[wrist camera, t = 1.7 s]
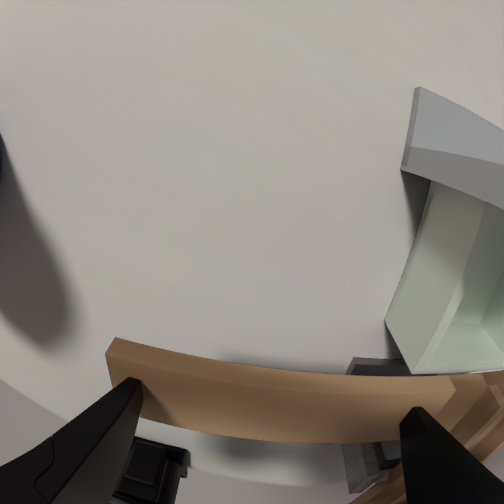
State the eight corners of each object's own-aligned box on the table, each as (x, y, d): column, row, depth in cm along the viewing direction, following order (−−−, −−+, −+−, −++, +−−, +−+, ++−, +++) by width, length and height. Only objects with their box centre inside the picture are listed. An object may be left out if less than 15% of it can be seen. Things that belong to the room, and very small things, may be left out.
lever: (389, 503, 16) (393, 528, 14) (159, 496, 16) (152, 525, 13) (535, 359, 9) (560, 393, 6) (120, 328, 9) (82, 393, 6)
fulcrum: (418, 425, 20) (440, 487, 13) (315, 429, 20) (323, 508, 13) (465, 359, 17) (507, 426, 10) (353, 357, 17) (382, 454, 10)
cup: (476, 327, 16) (508, 367, 12) (383, 320, 16) (411, 374, 11) (521, 217, 13) (567, 242, 8) (431, 179, 12) (486, 201, 8)
